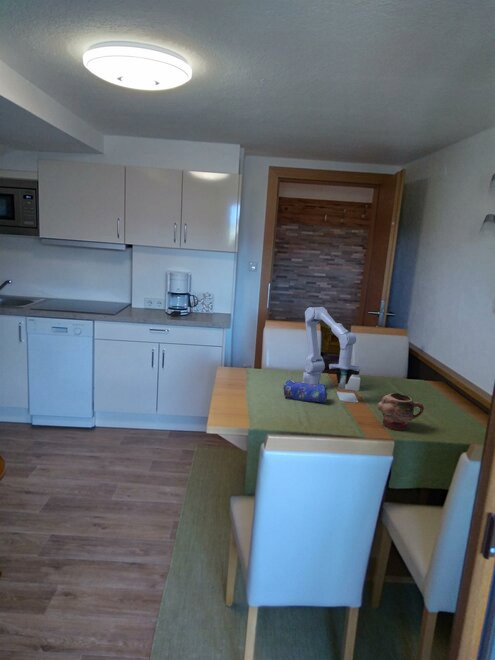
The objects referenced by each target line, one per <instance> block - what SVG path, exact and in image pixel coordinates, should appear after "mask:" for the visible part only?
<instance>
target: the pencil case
mask: <svg viewBox="0 0 495 660" xmlns="http://www.w3.org/2000/svg"><path fill="white" fill-rule="evenodd" d="M282 389H283V396H284V397H285V398H286V397H287V399H291V398H292V399H294V400H297V401H298V400H299V401H305V402H315V403H323V404H325V403H326V401H327V398H328V392H327V385H325V384H324V383H320V384H307V383H302V381H299V382H298V381H294V380H292V379H288V380H287V381H286V382H285V384H283V385H282Z"/></svg>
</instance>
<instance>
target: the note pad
mask: <svg viewBox="0 0 495 660" xmlns="http://www.w3.org/2000/svg"><path fill="white" fill-rule="evenodd" d="M336 395H337V397H338V399H339V401H340V402H345V403H346V402H347V403H357V404H358V403H359V400H358V397H356V395H355V392H349V391H347V392H346V391H338V390H337V391H336Z"/></svg>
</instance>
